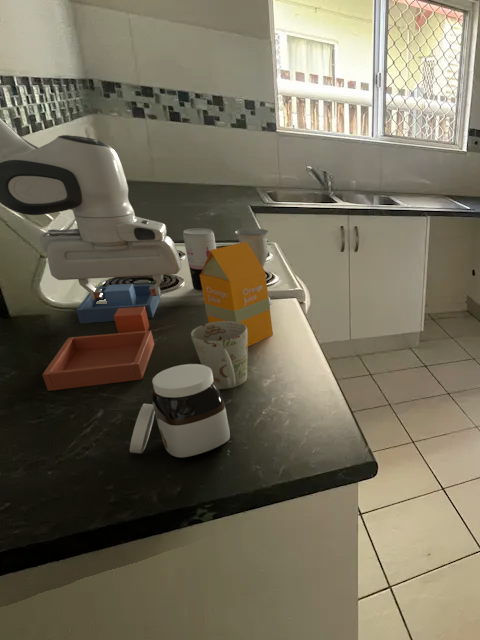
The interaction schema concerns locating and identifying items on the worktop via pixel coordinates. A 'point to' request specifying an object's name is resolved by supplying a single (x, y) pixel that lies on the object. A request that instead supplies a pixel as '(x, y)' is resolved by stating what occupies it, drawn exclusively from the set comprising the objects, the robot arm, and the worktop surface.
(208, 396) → the spread jar
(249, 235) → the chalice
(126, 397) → the worktop surface
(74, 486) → the worktop surface
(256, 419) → the worktop surface
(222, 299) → the orange juice
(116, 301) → the blue block
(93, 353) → the rust tray
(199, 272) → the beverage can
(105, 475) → the worktop surface
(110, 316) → the blue tray
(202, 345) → the mug
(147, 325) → the rust block
